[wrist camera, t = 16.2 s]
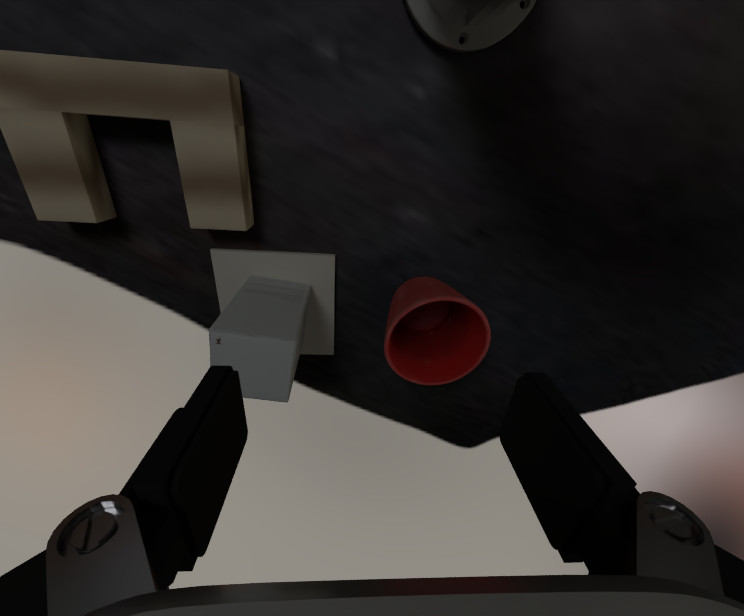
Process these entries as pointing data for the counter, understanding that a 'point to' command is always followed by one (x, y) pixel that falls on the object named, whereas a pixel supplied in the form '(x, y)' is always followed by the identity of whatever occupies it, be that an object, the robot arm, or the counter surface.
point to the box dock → (130, 100)
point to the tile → (292, 267)
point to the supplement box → (262, 336)
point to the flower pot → (434, 333)
